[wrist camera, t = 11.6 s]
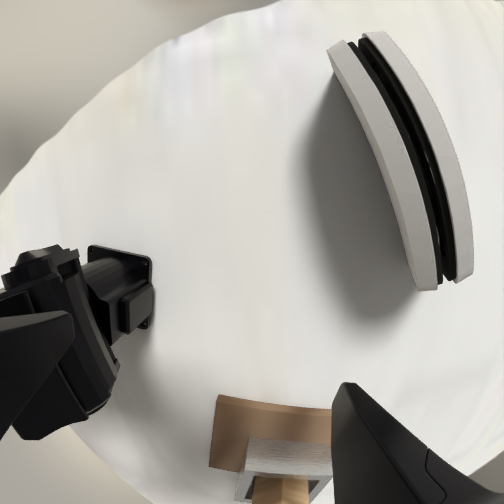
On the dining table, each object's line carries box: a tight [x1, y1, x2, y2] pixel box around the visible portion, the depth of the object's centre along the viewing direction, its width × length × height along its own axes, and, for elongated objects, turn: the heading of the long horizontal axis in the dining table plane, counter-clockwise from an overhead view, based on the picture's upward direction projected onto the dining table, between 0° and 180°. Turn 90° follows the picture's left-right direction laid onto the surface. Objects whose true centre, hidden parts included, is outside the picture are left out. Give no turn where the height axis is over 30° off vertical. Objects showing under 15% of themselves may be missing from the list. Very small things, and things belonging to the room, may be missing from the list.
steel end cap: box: [234, 436, 333, 504], centre depth 21 cm, size 8×8×4 cm
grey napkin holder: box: [326, 31, 474, 291], centre depth 14 cm, size 17×5×10 cm, turn 23°
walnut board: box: [209, 395, 332, 472], centre depth 23 cm, size 14×13×1 cm
